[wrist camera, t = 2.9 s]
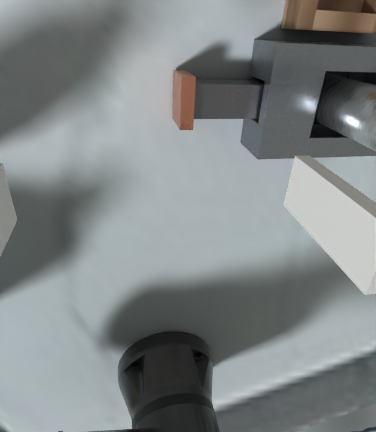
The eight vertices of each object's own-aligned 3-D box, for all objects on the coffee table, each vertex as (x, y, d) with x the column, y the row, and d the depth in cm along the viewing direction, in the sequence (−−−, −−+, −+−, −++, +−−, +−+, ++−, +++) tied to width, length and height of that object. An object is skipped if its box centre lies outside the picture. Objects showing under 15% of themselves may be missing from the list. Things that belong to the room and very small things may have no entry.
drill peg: (292, 118, 35) (427, 192, 20) (302, 71, 33) (464, 115, 18) (330, 118, 36) (487, 188, 21) (343, 72, 34) (530, 115, 19)
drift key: (172, 117, 32) (179, 129, 29) (173, 70, 30) (181, 76, 26) (249, 117, 34) (265, 128, 30) (255, 72, 32) (274, 78, 28)
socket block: (240, 142, 35) (257, 159, 31) (254, 39, 30) (277, 42, 26) (352, 140, 38) (381, 155, 34) (382, 45, 33) (421, 49, 29)
